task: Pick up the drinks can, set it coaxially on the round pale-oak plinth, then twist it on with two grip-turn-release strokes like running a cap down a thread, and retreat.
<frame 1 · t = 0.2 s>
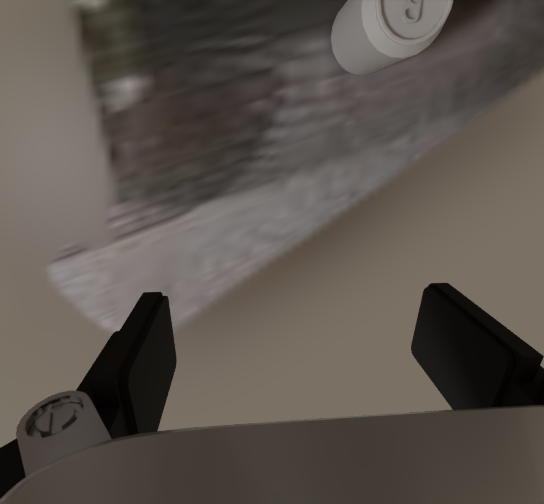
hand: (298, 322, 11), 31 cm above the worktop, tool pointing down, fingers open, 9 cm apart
can: (361, 38, 34), on the worktop
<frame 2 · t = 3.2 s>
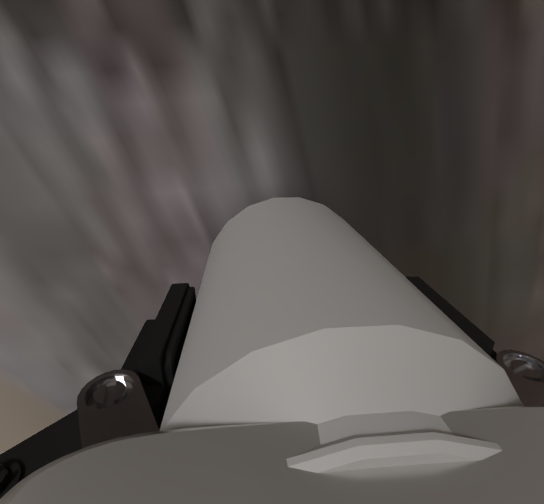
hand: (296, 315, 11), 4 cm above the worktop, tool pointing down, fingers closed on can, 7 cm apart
can: (282, 264, 16), on the worktop, touching gripper
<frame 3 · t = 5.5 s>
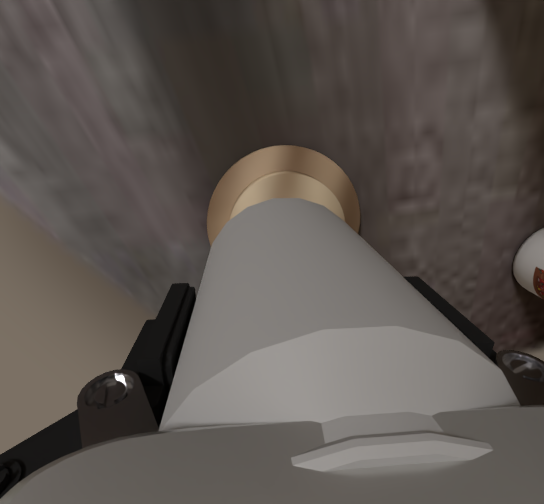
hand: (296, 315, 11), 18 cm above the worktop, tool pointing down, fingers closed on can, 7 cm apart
plinth: (283, 223, 29), on the worktop
milk bottle: (543, 255, 33), on the worktop
can: (282, 264, 16), point 13 cm above the worktop, touching gripper
when the fingers open (8 cm above the worktop, at t = 8.1 s): can stays where it is, resting on plinth.
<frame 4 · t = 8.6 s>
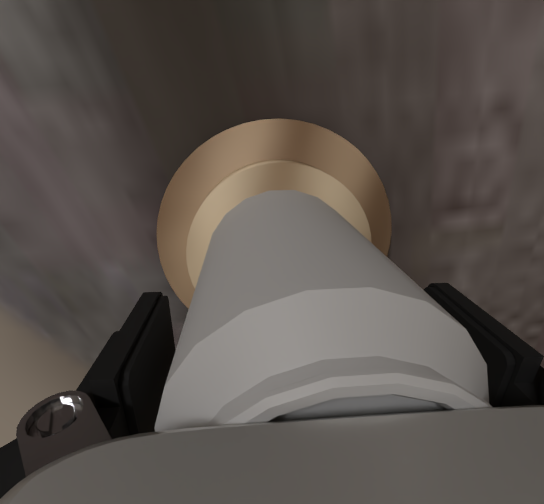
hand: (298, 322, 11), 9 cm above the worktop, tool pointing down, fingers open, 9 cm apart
plinth: (275, 240, 19), on the worktop
can: (279, 254, 17), point 3 cm above the worktop, touching plinth
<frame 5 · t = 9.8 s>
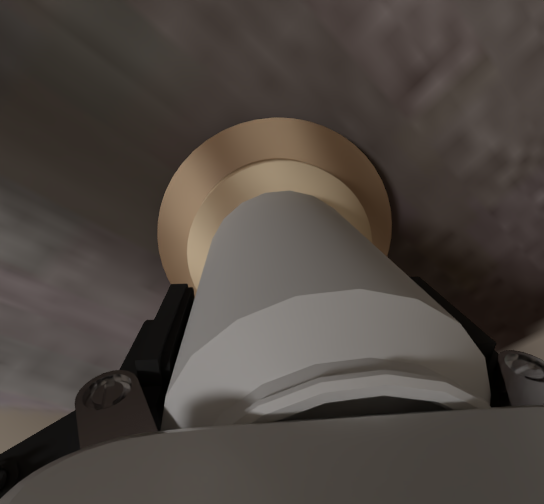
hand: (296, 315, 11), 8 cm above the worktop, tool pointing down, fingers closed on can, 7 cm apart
plinth: (276, 239, 19), on the worktop
can: (280, 255, 17), point 3 cm above the worktop, touching gripper, plinth
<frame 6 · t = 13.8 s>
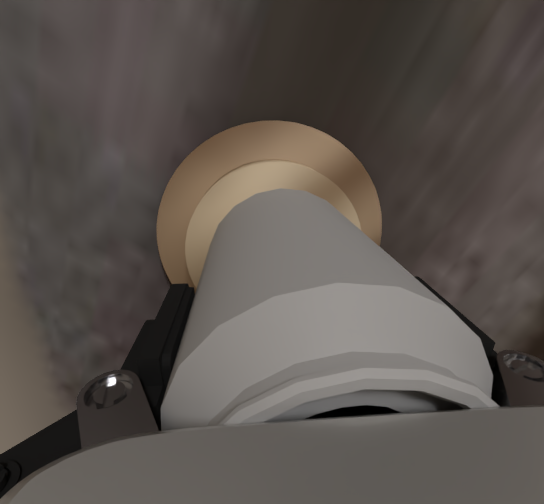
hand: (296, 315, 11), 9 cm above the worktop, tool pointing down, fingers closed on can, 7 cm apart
plinth: (271, 237, 20), on the worktop
can: (280, 253, 17), point 4 cm above the worktop, touching gripper
when the fingers open (9 cm above the worktop, at t = 14.0 s): can stays where it is, resting on plinth.
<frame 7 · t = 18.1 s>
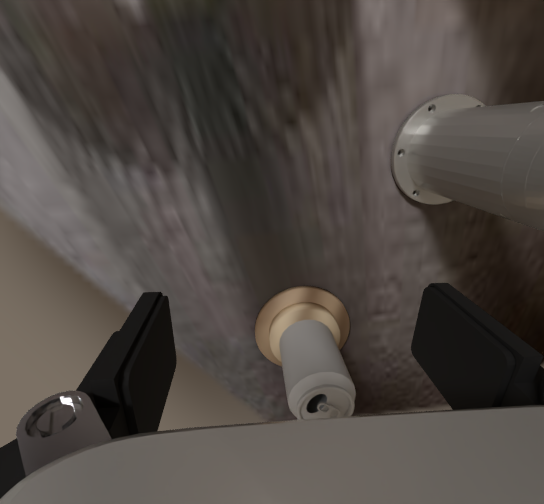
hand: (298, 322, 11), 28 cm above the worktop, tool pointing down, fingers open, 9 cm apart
plinth: (301, 327, 46), on the worktop
can: (304, 337, 43), point 3 cm above the worktop, touching plinth
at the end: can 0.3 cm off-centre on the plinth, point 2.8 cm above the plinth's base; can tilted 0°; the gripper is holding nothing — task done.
